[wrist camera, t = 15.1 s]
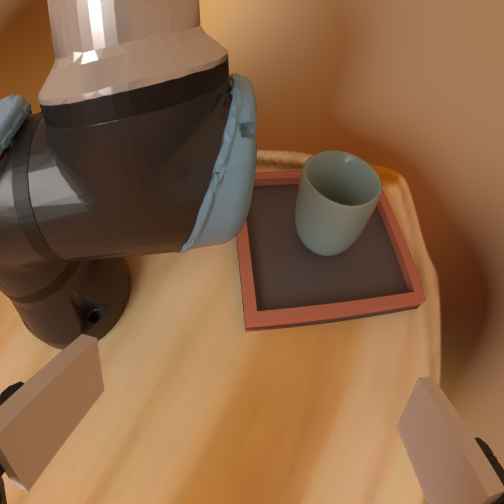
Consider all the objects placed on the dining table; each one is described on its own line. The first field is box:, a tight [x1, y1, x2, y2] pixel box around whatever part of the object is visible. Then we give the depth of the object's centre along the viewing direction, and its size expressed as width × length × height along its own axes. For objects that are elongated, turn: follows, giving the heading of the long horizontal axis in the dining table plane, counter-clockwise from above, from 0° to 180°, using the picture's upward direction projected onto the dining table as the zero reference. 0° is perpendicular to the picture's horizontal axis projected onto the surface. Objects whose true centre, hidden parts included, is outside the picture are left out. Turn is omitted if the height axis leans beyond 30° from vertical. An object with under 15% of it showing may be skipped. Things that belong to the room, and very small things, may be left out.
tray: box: [236, 171, 426, 332], centre depth 36 cm, size 20×20×2 cm
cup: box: [295, 150, 382, 256], centre depth 32 cm, size 8×8×10 cm
